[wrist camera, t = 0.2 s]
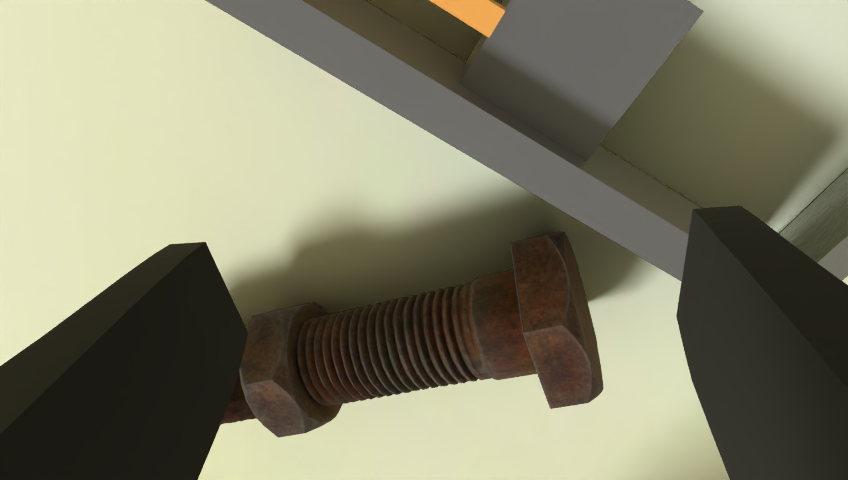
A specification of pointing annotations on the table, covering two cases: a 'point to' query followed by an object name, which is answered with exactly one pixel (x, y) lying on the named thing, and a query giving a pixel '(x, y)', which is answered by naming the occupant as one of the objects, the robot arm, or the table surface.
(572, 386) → the bolt
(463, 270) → the table surface
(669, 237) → the grey bar with rod
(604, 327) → the table surface
